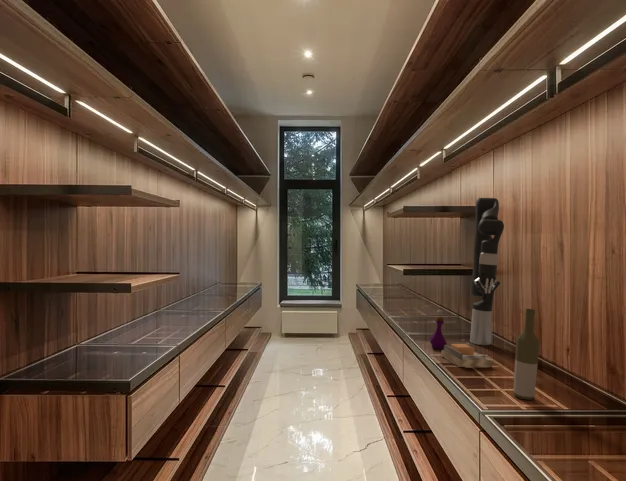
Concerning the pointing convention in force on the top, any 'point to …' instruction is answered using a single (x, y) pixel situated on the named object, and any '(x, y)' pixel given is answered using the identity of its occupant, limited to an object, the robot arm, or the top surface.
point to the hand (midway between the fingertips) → (485, 301)
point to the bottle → (526, 360)
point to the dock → (465, 358)
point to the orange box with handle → (464, 348)
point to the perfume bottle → (438, 334)
